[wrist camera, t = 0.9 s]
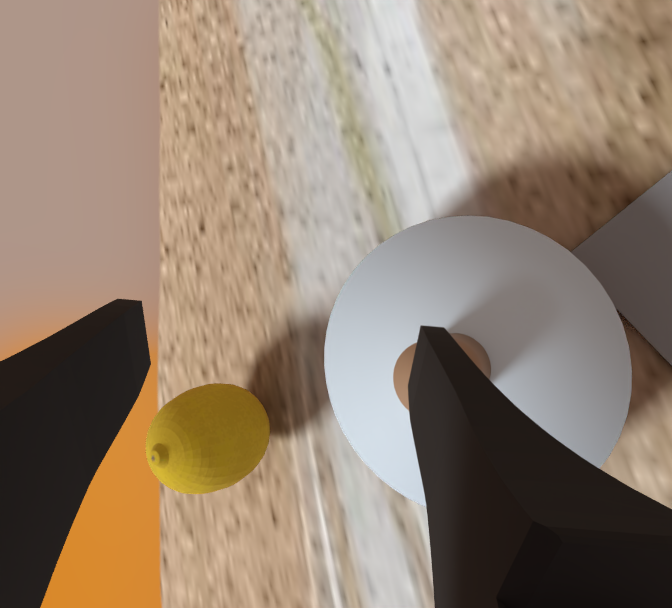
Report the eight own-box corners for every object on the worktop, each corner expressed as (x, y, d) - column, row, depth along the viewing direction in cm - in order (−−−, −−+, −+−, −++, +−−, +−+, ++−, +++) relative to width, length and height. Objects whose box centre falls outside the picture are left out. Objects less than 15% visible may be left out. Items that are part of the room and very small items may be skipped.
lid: (715, 400, 17) (755, 433, 13) (445, 561, 21) (411, 622, 17) (478, 157, 20) (451, 123, 16) (290, 339, 25) (233, 348, 21)
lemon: (230, 363, 31) (121, 384, 23) (303, 390, 28) (206, 422, 21) (216, 445, 31) (106, 489, 24) (286, 478, 29) (186, 539, 22)
